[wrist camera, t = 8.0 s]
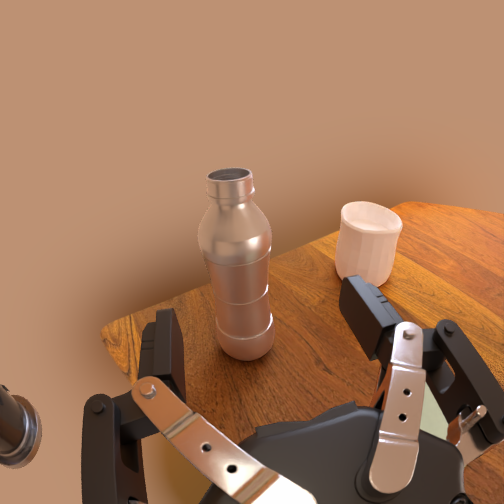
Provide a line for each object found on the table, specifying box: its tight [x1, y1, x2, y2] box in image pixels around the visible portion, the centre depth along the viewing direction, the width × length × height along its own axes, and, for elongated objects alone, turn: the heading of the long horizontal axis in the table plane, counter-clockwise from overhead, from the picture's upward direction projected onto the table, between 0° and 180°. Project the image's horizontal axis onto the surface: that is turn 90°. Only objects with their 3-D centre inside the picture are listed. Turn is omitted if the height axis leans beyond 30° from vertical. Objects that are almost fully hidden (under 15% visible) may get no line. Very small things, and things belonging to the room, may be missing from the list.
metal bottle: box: [197, 168, 275, 361], centre depth 27 cm, size 6×7×20 cm
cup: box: [335, 201, 402, 287], centre depth 40 cm, size 10×10×10 cm
